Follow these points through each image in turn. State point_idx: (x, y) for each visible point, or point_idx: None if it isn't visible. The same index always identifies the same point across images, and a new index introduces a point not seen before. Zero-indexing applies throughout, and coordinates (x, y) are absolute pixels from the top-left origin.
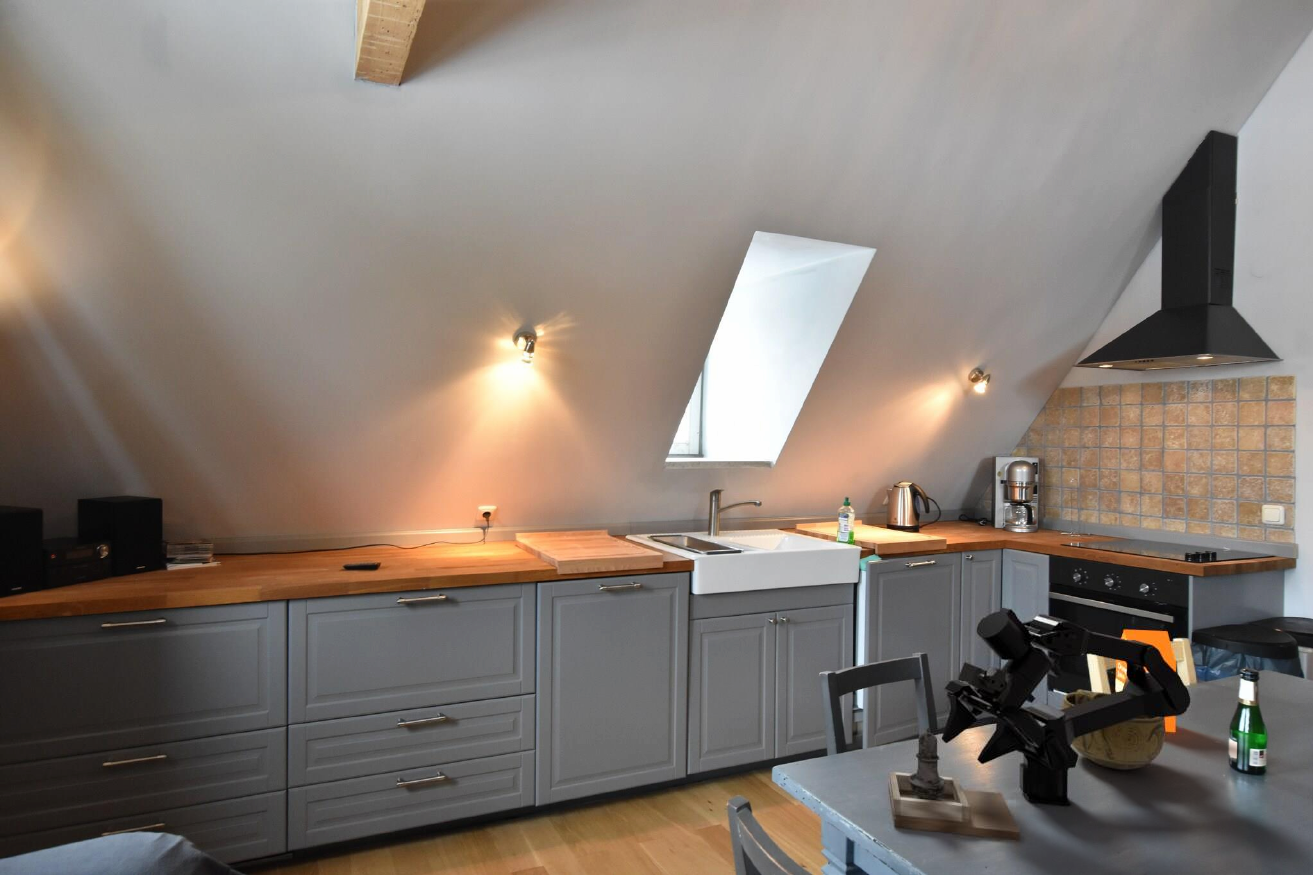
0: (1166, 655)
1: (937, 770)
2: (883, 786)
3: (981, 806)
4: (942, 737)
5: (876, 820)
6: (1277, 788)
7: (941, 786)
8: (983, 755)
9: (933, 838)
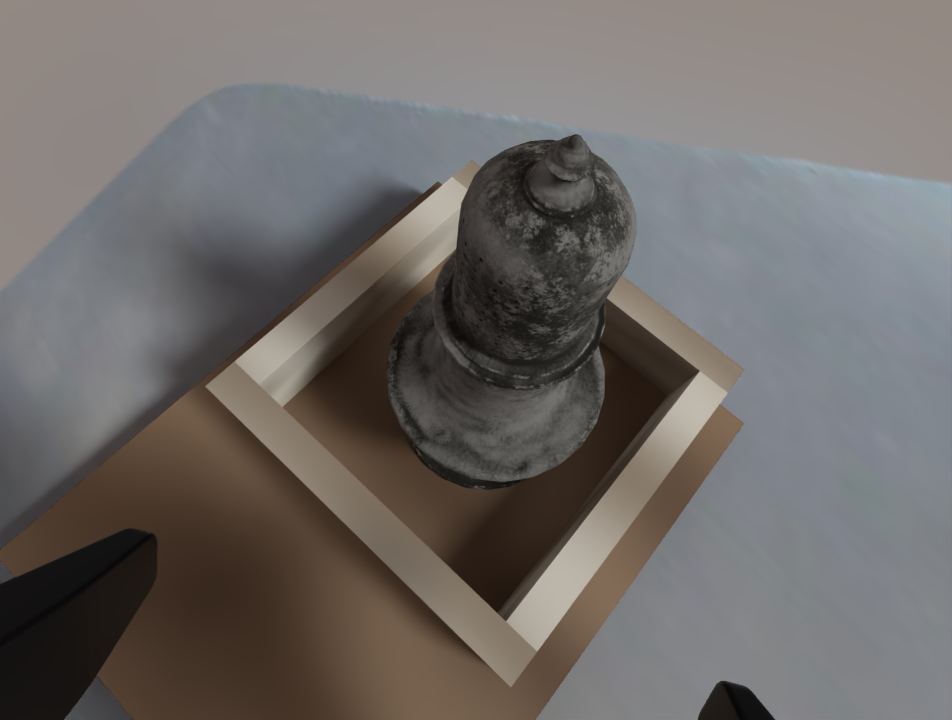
0: None
1: (459, 383)
2: (763, 438)
3: (304, 636)
4: (746, 694)
5: None
6: None
7: (390, 366)
8: (60, 560)
9: (292, 248)
